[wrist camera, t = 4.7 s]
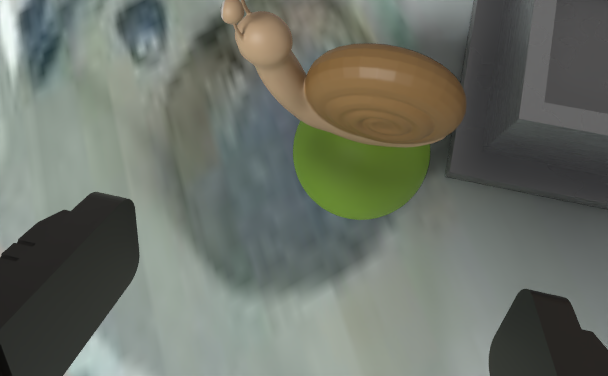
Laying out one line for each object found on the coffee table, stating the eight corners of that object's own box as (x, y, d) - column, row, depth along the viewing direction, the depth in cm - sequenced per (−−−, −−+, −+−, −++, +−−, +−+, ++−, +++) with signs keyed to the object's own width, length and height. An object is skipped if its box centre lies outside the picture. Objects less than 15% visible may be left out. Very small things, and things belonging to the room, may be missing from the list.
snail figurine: (291, 100, 22) (252, -118, 10) (425, 126, 21) (546, -73, 10) (264, 208, 21) (184, 104, 9) (403, 240, 20) (511, 171, 8)
